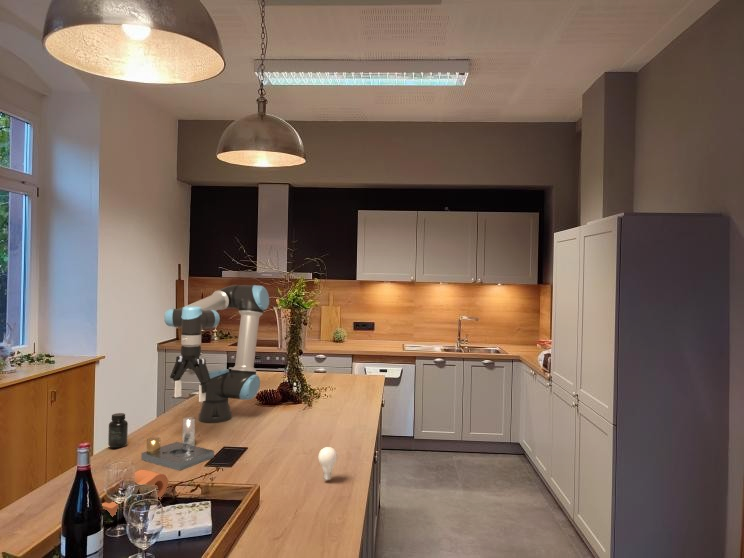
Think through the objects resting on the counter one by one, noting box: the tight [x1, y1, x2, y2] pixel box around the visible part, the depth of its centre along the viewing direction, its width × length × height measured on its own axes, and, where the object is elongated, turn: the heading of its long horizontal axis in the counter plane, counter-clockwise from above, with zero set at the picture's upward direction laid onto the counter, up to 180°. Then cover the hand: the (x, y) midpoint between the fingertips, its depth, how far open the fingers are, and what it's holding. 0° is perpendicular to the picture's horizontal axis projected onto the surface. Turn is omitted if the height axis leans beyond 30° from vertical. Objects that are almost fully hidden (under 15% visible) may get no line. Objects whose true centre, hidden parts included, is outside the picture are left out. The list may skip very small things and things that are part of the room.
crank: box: [101, 469, 169, 517], centre depth 155 cm, size 20×8×8 cm, turn 155°
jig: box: [141, 436, 215, 472], centre depth 195 cm, size 20×16×7 cm
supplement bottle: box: [107, 412, 129, 448], centre depth 209 cm, size 7×7×12 cm
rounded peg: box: [181, 416, 196, 446], centre depth 209 cm, size 5×5×11 cm
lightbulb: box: [317, 446, 338, 482], centre depth 177 cm, size 6×6×11 cm
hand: (189, 399), depth 209 cm, fingers open, 13 cm apart
